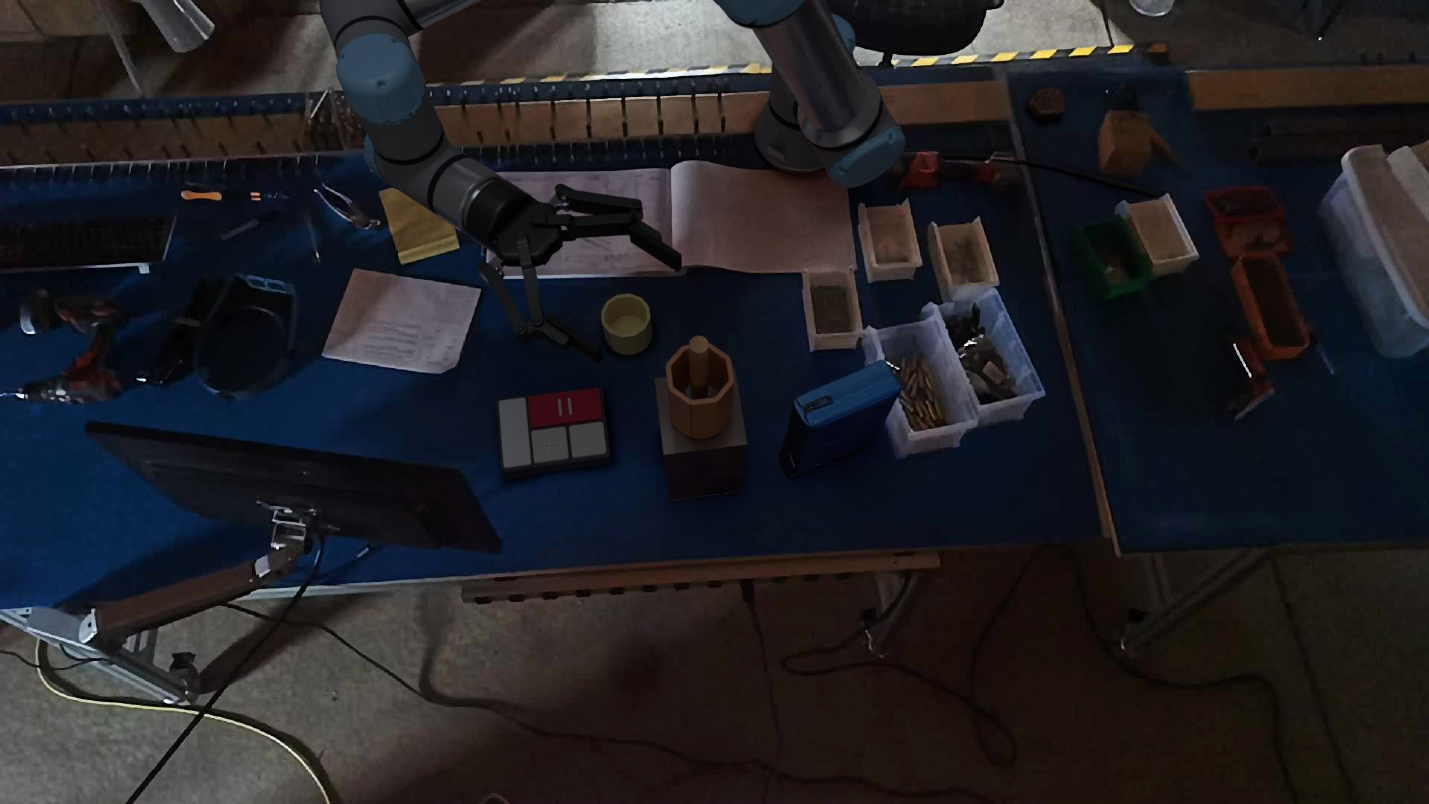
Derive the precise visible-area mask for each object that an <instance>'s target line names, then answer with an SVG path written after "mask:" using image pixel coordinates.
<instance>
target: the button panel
mask: <svg viewBox="0 0 1429 804" xmlns="http://www.w3.org/2000/svg"><path fill="white" fill-rule="evenodd" d="M603 392H604V391H603V387H602V386H600V385H599V386H590V387H583V388H576V389H575V388H574V389H567V390H566V389H565V390H559V391H551V392H543V393H534V394H528V395H519V396H511V397H503V398H498V399H496V400H495V412H496V425H497V437H498V438H497V439H498V450H499V451H498V452H499V464H500V465H499V466H500V470H501V473H502V475H503V477H504V479H506V480H516V479H522V478H531V477H534V476H536V475H542V474H547V473H549V474H550V473H556V472H563V471H571V470H577V469H584V468H590V467H591V468H592V467H598V466H605V465H610V464H612V453H611V452H612V451H611V445H610V437H609V428H608V421H607V415H606V407H605V399H604V393H603Z"/></svg>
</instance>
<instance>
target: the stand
mask: <svg viewBox="0 0 1429 804" xmlns="http://www.w3.org/2000/svg"><path fill="white" fill-rule="evenodd" d="M736 370H737V369H736V368H733V374H734V380H735V381H734V393H733V405H732V416H731V418H730V419H729V421H728V422H727V424H726V426H725V427H724V428H723V429H722V430H721V431H720V432H719V433H718V434H716V435H714V436H712V437H709V438H703V439H697V438H692V437H688V436H686V435H684V434H683V433H681V432H680V431H679V430H678V429H677V428H676V427H675V426H674V425H673V424H672V423H671V415H670V407H669V399H668V388H667V378H666V376H660V377H654V378H653V380H654V388H655V390H654V391H655V396H656V397H655V398H656V407H657V414H658V423H659V431H660V438H661V447H662V454H663V455H662V456H663V462H664V469H665V470H664V471H665V476H666V477H665V479H666V486H667V493H668V501H669V500H674V501H669V504H673V503H680V502H688V501H697V500H703V499H710V498H711V499H713V498H718V497H727V496H734V495H740V494H742V487H743V482H744V481H743V480H744V473H745V467H746V466H745V465H746V460H747V459H746V458H747V452H748V445H749V444H748V438H747V431H746V426H745V419H744V414H743V407H742V400H741V396H740V388H739V383H738V376H737V371H736ZM739 491H741V492H739ZM731 492H735V493H731ZM723 493H728V494H723ZM714 494H720V495H714ZM706 495H712V496H706ZM700 496H705V497H700ZM692 497H697V498H692ZM684 498H689V499H684ZM675 499H681V500H675Z"/></svg>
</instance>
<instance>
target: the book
mask: <svg viewBox="0 0 1429 804" xmlns="http://www.w3.org/2000/svg"><path fill="white" fill-rule="evenodd" d="M902 391H903V386H902V384H901V383H899V381H898V379H897V377H896V374H895V372H894V370H893V369H892V368H891V367H890V365H889V364H888V362H887V361H886V360H885V359H879V360H876V361H875V362H873V363H870V364H868V365H867V366H865V367H864V368H861V369H859V370H857V371H856V370H855V371H853V372H851V373H849V374H847V375H844V376H842V377H840V378H838V379H835V380H832V381H829V382H828V383H825V384H822V385H821V386H819V387H817V388H814V389H811V390H808V391H807V392H805V393H804V394H801V395H799V396H797V398H795V399H794V402H793V403H792V406H791V411H790V415H789V420H788V425H787V426H788V427H787V430H786V434H785V436H784V437H785V438H784V440H783V442H782V446H781V449H780V451H779V456H778V458H779V461H780V460H781V462H780V464H782V465H781V466H782V468H783V472H784V473H785V474H786V475H787V477H788V478H796V477H799V476H802V475H804V474H806V473H808V472H810V471H813V470H815V469H817V468H818V467H822V466H824V465H826V464H829V463H831V462H834V461H837V460H839V459H841V458H843V457H845V456H847V455H848V454H852V453H853V452H855V451H858V450H860V449H863V448H864V447H865V446H868V445H870V444H873V443H874V442H875V441H877V439H878V437H879V435H880V434H881V431H882V429H883V427H884V425H885V423H886V420H887V419H888V417H889V415H890V413H891V411H892V409H893V407H894V405H895V403H896V401H897V400H898V398H899V396H900V394H901V392H902ZM859 447H861V448H859ZM858 448H859V449H858ZM856 449H857V450H856ZM854 450H855V451H854ZM830 460H831V461H830ZM828 461H830V462H828ZM826 462H827V463H826ZM821 463H825V464H822V465H820V464H821ZM816 464H818V465H819V466H815V465H816ZM811 468H812V469H811ZM808 470H809V471H808ZM806 471H807V472H806ZM786 472H787V473H786ZM804 472H805V473H804ZM802 473H803V474H802ZM800 474H801V475H800ZM792 475H795V476H792ZM798 475H799V476H798Z"/></svg>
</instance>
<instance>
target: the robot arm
mask: <svg viewBox="0 0 1429 804" xmlns="http://www.w3.org/2000/svg"><path fill="white" fill-rule="evenodd" d="M712 1H713V2H714V4H716V5H717V6H718V7H719V8H720V9H721V10H722V11H723V12H724V14H725V15H726V16H727V18H728V19H729V20H730V21H731V22H732V23H734V24H735V25H737V26H739V27H741V28H743V29H747V30H751V31H752V32H753V33H754V35H755V37H756V38H757V40H758V42H759V43H760V45H761V46H762V48H763V50H764V51H765V53H766V55H767V56H768V58H769V59H770V61H771V68H770V80H769V90H768V91H769V92H768V99H767V101H766V102H765V104H764V106H763V108H762V109H761V111H760V113H759V115H758V117H757V118H756V122H755V125H754V131H753V132H754V133H753V142H754V146H755V149H756V152H757V154H758V155H759V157H760V158H761V159H762V161H763V162H765V164H767V165H768V166H769V167H771V168H772V169H774V170H775V171H778V172H780V173H783V174H787V175H790V176H800V177H803V176H813V175H816V174H820V173H822V172H825V171H826V172H827V173H826V175H827V177H828V178H830V179H831V181H832V182H833V183H834V185H835V186H837V187H838V188H841V189H853V188H856V187H860V186H863V185H866V184H867V183H870V182H872V181H873V180H875V179H877V178H878V177H880V176H881V175H882V174H884V173H886V172H887V171H888V170H889V169H891V167H892V166H894V164H895V163H896V162H897V161H898V160H899V159H900V158H901V156H902V155H901V154H902V153H903V152H924V151H922V150H911V149H905V148H906V143H907V141H906V137H905V135H904V132H903V131H902V127H901V126H900V125H898V123H897V122H896V120H895V119H894V117H893V116H892V113H891V112H890V110H889V108H888V107H887V104H886V102H885V100H884V98H883V95H882V93H881V91H880V89H879V86H878V84H877V82H876V81H875V80H874V78H873V77H872V76H871V74H869V73H868V72H866V71H864V70H862V68H861V67H860V65H859V64H858V62H857V60H856V59H855V56H854V51H855V49H856V46H857V42H856V33H855V31H854V28H853V26H852V25H851V24H850V23H849V22H848V21H847V19H845V18H843V17H841V16H840V15H837V14H835V13H833V12H831V11H830V8H829V6H828V3H827V1H826V0H712ZM317 2H318V8H319V14H320V16H321V19H322V22H323V24H324V26H325V28H326V30H327V32H328V36H329V38H330V41H331V44H332V46H333V49H334V53H335V57H336V60H337V62H336V65H335V72H336V77H337V80H338V82H339V84H340V87H341V89H342V91H343V94H344V97H345V100H346V102H347V104H348V106H349V107H350V108H351V109H352V110H353V112H354V113H355V116H356V117H357V119H358V121H359V122H360V124H361V126H362V128H363V129H364V132H365V133H366V134H365V137H364V140H363V148H364V153H363V159H364V162H365V164H366V166H367V167H368V168H369V169H370V170H371V172H373V173H374V174H375V175H376V176H378V177H379V178H380V179H381V180H382V181H383V182H384V183H385V184H386V185H388V186H390V187H391V188H392V189H394V190H397V191H399V192H401V193H402V194H404V195H405V196H407V197H408V198H409V199H411V200H413V201H414V202H416V203H417V204H418V205H420V206H422V207H423V208H425V209H426V210H428V211H429V212H431V213H432V214H434V215H436V216H437V217H438V218H439V219H441V220H443V221H444V222H446V223H448V225H450V226H452V227H453V228H455V229H457V230H458V231H459V232H461V233H463V234H464V235H467V236H469V238H470V239H471V240H472V241H474V242H475V243H477V244H478V245H480V246H481V247H482V248H484V249H486V250H487V251H489V252H490V253H492V254H493V255H496V256H494V257H493V258H492V259H491V260H490V261H488V262H487V261H481V262H479V263H478V264H477V270H478V272H479V274H480V276H481V279H482V280H483V282H484V283H485V284H486V285H487V286H488V287H489V288H490V289H491V290H493V291H494V292H495V295H496V296H497V298H498V300H499V302H500V304H501V307H502V308H503V311H504V312H505V315H506V317H507V319H508V321H509V323H510V325H511V327H512V329H513V331H514V334H515V335H516V338H517V340H518V342H519V343H520V344H521V345H523V346H527V345H529V344H531V342H532V340H534V339H535V338H538V339H539V340H546V341H548V342H550V343H551V344H552V345H554V346H555V347H557V348H558V349H560V350H561V351H565V352H566V351H568V350H569V349H570V348H571V347H573V348H574V349H575V350H576V351H578V352H580V353H581V354H583V356H586V357H587V358H589V359H590V360H591V361H593V362H595V363H596V364H597V365H600V363H602V361H603V360H604V357H603V356H604V355H603V353H602V349H601V346H600V345H598V344H597V343H595V342H593V340H590V339H589V338H588V337H586V336H585V335H583V334H581V333H580V332H579V331H577V330H576V329H574V328H573V327H571V326H570V325H568V324H567V323H566V322H564V321H562V320H561V319H559V318H558V317H557V316H555V315H554V314H552V313H549V315H547V317H546V316H545V312H544V311H545V310H544V306H543V301H542V296H541V290H540V286H539V281H538V279H539V278H538V272H537V269H536V267H537V268H538V267H541V266H543V267H545V266H546V265H547V264H548V263H549V262H550V260H551V258H552V256H553V255H554V254H556V253H558V252H560V250H561V249H562V248H563V247H564V245H563V243H564V242H575V241H576V240H578V239H588V238H605V237H623V236H629V243H630V244H632V245H633V246H635V247H637V248H638V249H640V250H642V251H643V252H645V253H646V254H648V255H650V256H651V257H652V258H654V259H656V260H657V261H660V262H661V263H663V264H664V265H665V266H667V267H668V268H670V269H672V270H673V271H674V272H676V273H679V272H680V271H681V270H682V269H683V259H682V258H683V257H682V256H683V255H682V253H681V252H679V251H678V250H676V249H675V248H673V247H671V246H670V245H668V244H667V243H665V242H663V235H662V233H661V232H660V231H658V229H656V228H654V227H653V226H651V225H649V224H648V223H646V222H644V221H643V219H644V209H643V208H644V207H643V201H642V199H639V198H632V197H626V196H619V195H613V194H605V193H600V192H599V193H597V192H592V191H584V190H577V189H574V188H572V187H571V186H568V185H567V184H564V183H557V184H556V185H555V186H554V191H555V192H554V194H553V196H552V197H551V198H550V200H549V201H548V202H543V201H539V200H537V199H536V198H535V197H534V196H532V195H531V194H530V193H528V192H527V191H525V190H524V189H522V188H520V187H518V186H517V185H515V184H514V183H512V182H511V181H509V180H508V179H504V177H503V176H502V175H500V174H498V173H497V172H495V171H494V170H492V169H491V168H489V167H487V166H486V165H484V164H483V163H481V162H480V161H478V160H476V158H474V157H472V156H470V155H468V154H466V153H465V152H464V151H462V150H461V149H459V148H458V147H456V146H455V145H453V143H451V142H450V140H449V139H448V137H447V134H446V131H445V128H444V126H443V123H442V122H441V119H440V117H439V116H438V112H437V109H436V107H435V105H434V102H433V99H432V97H431V96H432V95H431V94H430V91H429V89H428V87H427V84H426V79H425V75H424V74H423V73H422V69H421V66H420V64H419V62H418V61H417V59H416V55H415V53H414V51H413V48H412V46H411V41H410V39H409V38H410V37H413V36H414V35H416V34H418V33H420V32H422V31H424V30H425V29H426V28H429V27H431V26H433V25H435V24H437V23H439V22H440V21H443V20H445V19H447V18H449V17H451V16H454V15H455V14H457V13H459V12H461V11H463V10H465V9H467V8H469V7H472V6H473V5H475V4H477V3H480V2H482V0H317ZM937 152H938V151H937ZM938 153H939V154H940V156H941V158H940V159H983V160H991V159H990V158H991V155H993V154H994V153H988V152H968V151H967V152H966V151H958V152H956V151H955V152H941V151H939V152H938ZM1017 161H1019V162H1018V163H1020V164H1027V165H1032V166H1037V167H1043V168H1046V169H1049V170H1050V169H1051V170H1055V171H1059V172H1063V173H1066V174H1072V175H1075V176H1079V177H1082V178H1087V179H1089V180H1093V181H1096V182H1100V183H1104V184H1106V185H1110V186H1114V187H1117V188H1122V189H1126V190H1130V191H1134V192H1138V193H1142V194H1146V195H1151V196H1155V197H1158V198H1160V197H1161V196H1162V192H1163V191H1162V190H1157V189H1154V188H1149V187H1147V186H1141V185H1138V184H1133V183H1130V182H1125V181H1122V180H1118V179H1114V178H1111V177H1106V176H1103V175H1098V174H1096V173H1093V172H1088V171H1085V170H1082V171H1080V170H1081V169H1078V170H1075V169H1076V168H1074V171H1071V170H1067V168H1066V169H1062V168H1058V167H1054V166H1050V165H1046V164H1041V163H1036V162H1030V161H1024V160H1017ZM1060 165H1061V164H1058V165H1056V166H1060ZM1071 168H1072V167H1070V169H1071ZM1068 169H1069V168H1068ZM1072 170H1073V169H1072ZM1075 171H1078V172H1079V171H1080V172H1082V173H1083V174H1082V173H1078V172H1075ZM1084 173H1085V174H1084ZM1090 175H1091V176H1090ZM558 211H564V213H558ZM570 211H571V212H574V213H579V214H585V215H573V214H571V213H569V212H570ZM562 227H565V228H566V229H563V228H562ZM505 267H507V268H508V267H509V268H520V269H521V273H522V278H523V284H524V289H525V295H526V298H527V299H526V300H527V304H528V305H527V306H528V310H529V316H530V320H529V321H526V322H525V321H524V319H523V317H522V315H521V313H520V311H519V309H518V307H517V305H516V303H515V301H514V299H513V297H512V295H511V293H510V291H509V289H508V287H507V285H506V282H505V281H504V279H505V277H506V276H505V271H504V268H505Z"/></svg>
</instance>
